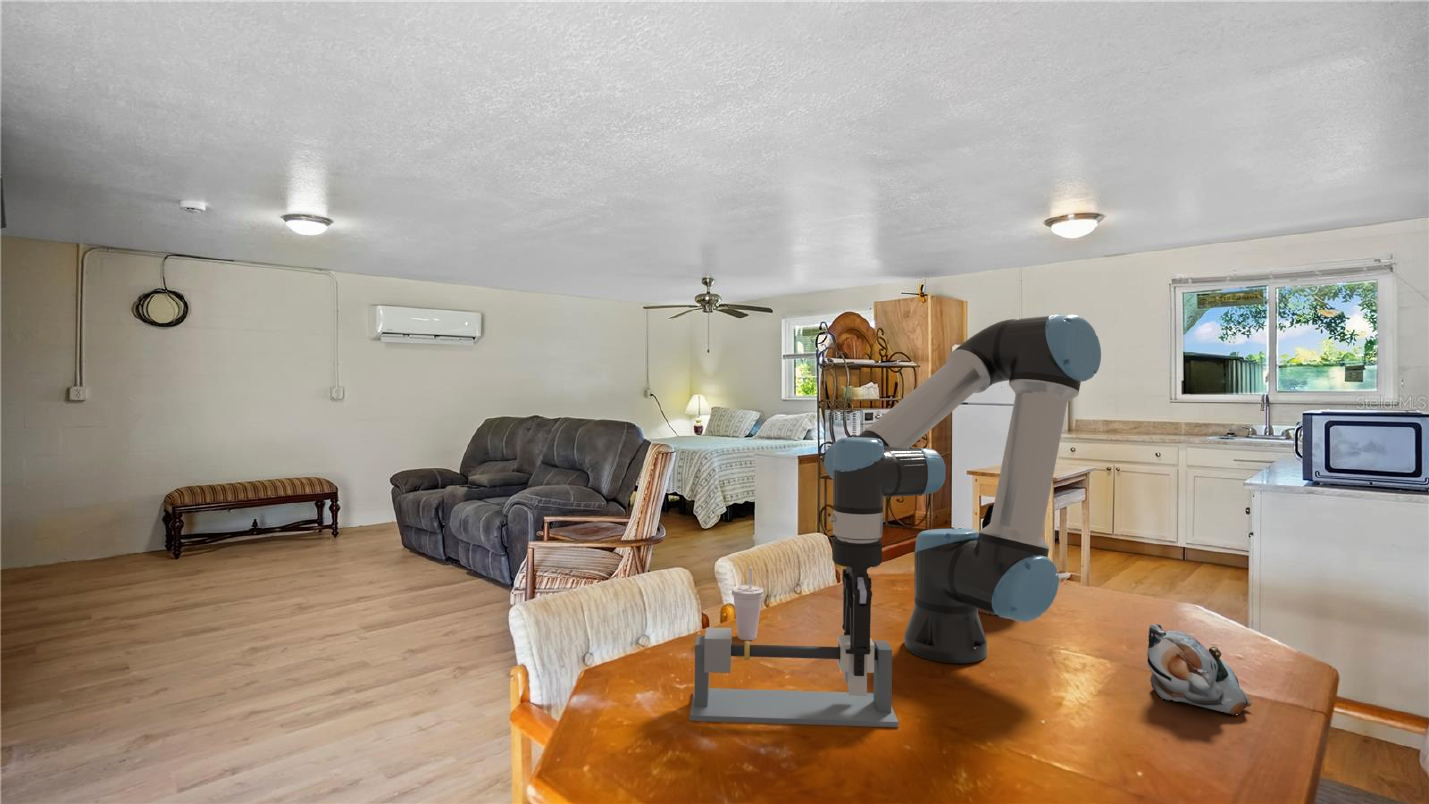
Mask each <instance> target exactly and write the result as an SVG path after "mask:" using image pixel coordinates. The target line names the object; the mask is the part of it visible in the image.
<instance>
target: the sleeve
mask: <svg viewBox="0 0 1429 804" xmlns="http://www.w3.org/2000/svg"><path fill="white" fill-rule="evenodd" d="M837 647H841V651H840V659H836V660H837V665H838V667H839V671H840V672H841V673H844V672H848V664H849V654H846V651H845V649H850V635H844V634H837ZM870 650H871V651H870V654H869V655H867V674H868V673H871V674H874V642H873V638H871V636H870Z"/></svg>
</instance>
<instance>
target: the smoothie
mask: <svg viewBox="0 0 1429 804" xmlns="http://www.w3.org/2000/svg"><path fill="white" fill-rule="evenodd" d="M748 572H749V573H748V581H749V582H748V584H742V585H737V586H734V587H732V588H731V595H732V596H733V604H734V605H733V606H734V612H735V613H734V614H735V622H736V629H737V638H738V639H739V640H741V641H754V640H756V639H757V636H758V630H759V629H758V628H759V620H760V614H761V613H760V612H761V608H762V607H761V606H762V600H763V599H762V597H763V596H764V588H762V587H761V586H758V585H753V567H752V566H751V567H749V568H748Z"/></svg>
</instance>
